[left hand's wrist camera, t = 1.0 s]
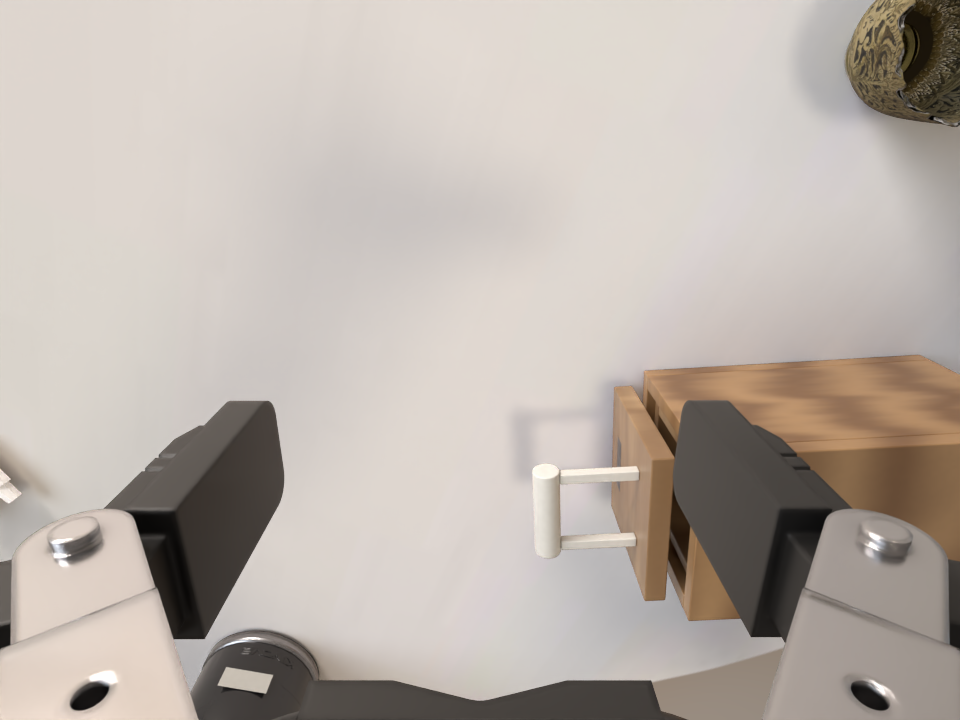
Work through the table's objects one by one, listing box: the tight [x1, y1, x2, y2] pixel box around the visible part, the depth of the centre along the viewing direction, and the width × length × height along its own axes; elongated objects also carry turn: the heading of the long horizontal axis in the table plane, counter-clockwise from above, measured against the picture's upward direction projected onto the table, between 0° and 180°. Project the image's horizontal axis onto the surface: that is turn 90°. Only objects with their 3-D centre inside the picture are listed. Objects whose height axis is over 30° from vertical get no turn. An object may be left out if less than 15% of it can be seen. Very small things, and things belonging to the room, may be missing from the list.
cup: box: [845, 0, 960, 127], centre depth 27 cm, size 8×7×8 cm
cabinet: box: [643, 355, 960, 621], centre depth 34 cm, size 18×11×11 cm, turn 94°
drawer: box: [532, 386, 690, 601], centre depth 35 cm, size 23×9×9 cm, turn 94°
